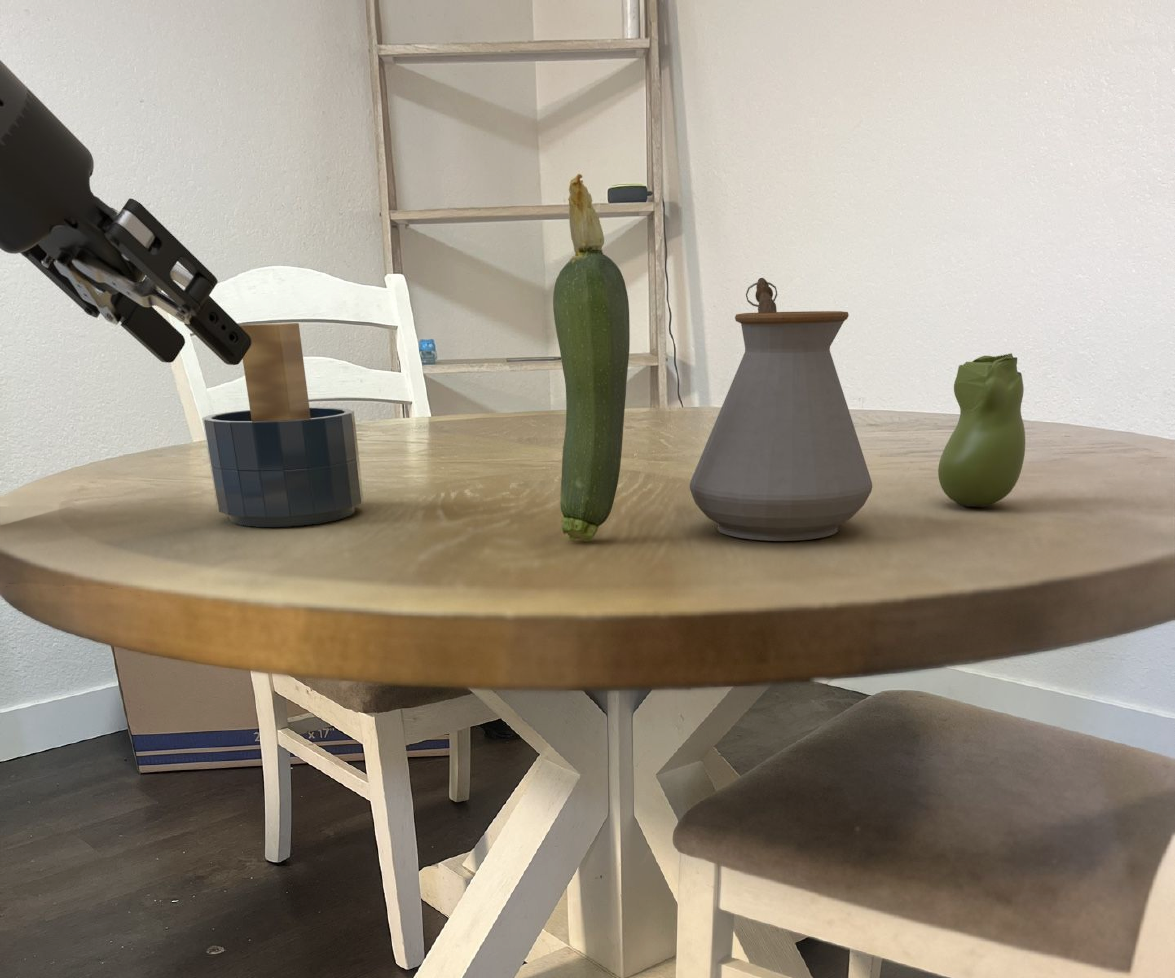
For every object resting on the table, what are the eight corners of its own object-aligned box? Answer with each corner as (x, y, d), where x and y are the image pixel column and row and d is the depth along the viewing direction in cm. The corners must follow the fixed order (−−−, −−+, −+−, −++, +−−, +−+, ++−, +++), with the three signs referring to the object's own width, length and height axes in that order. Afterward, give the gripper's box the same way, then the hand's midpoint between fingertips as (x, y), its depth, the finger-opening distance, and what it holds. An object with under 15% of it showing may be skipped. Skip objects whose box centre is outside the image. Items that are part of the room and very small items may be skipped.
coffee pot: (886, 547, 62) (913, 267, 56) (693, 549, 63) (699, 272, 56) (826, 488, 82) (841, 276, 75) (678, 491, 82) (682, 279, 76)
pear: (1031, 510, 72) (1055, 353, 67) (961, 515, 71) (982, 356, 66) (985, 497, 77) (1005, 350, 72) (919, 501, 76) (936, 352, 71)
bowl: (191, 527, 73) (172, 422, 70) (264, 501, 82) (250, 407, 79) (325, 531, 70) (312, 422, 67) (386, 504, 79) (376, 407, 76)
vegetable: (596, 532, 68) (590, 181, 60) (645, 540, 66) (646, 174, 57) (546, 542, 66) (533, 176, 57) (595, 552, 63) (588, 169, 54)
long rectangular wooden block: (264, 508, 74) (237, 324, 69) (284, 500, 77) (259, 323, 72) (302, 508, 74) (277, 324, 69) (321, 501, 76) (299, 323, 71)
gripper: (69, 60, 52) (298, 307, 65) (-34, 99, 61) (185, 309, 73) (-15, 175, 51) (235, 404, 63) (-108, 198, 60) (127, 395, 72)
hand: (208, 353), depth 68 cm, fingers open, 8 cm apart
